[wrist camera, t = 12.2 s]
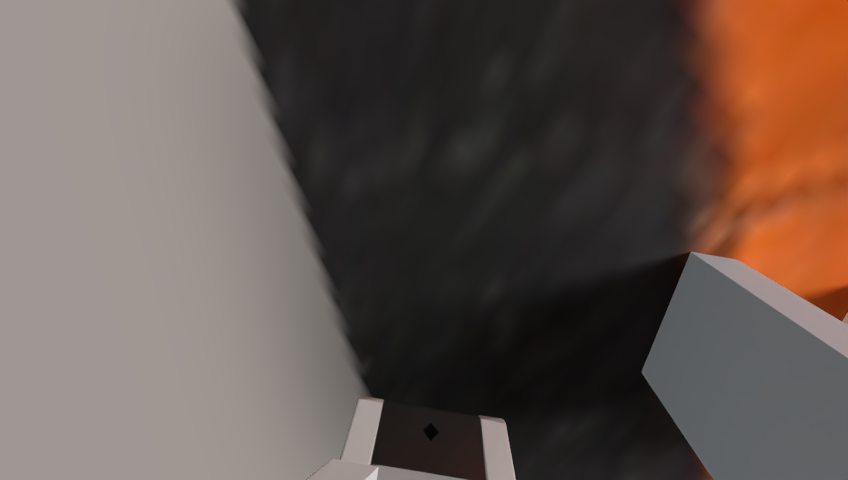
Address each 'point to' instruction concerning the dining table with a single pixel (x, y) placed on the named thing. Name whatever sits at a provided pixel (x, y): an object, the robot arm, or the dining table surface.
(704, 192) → the dining table surface
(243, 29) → the dining table surface
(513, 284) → the dining table surface
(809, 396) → the domino
